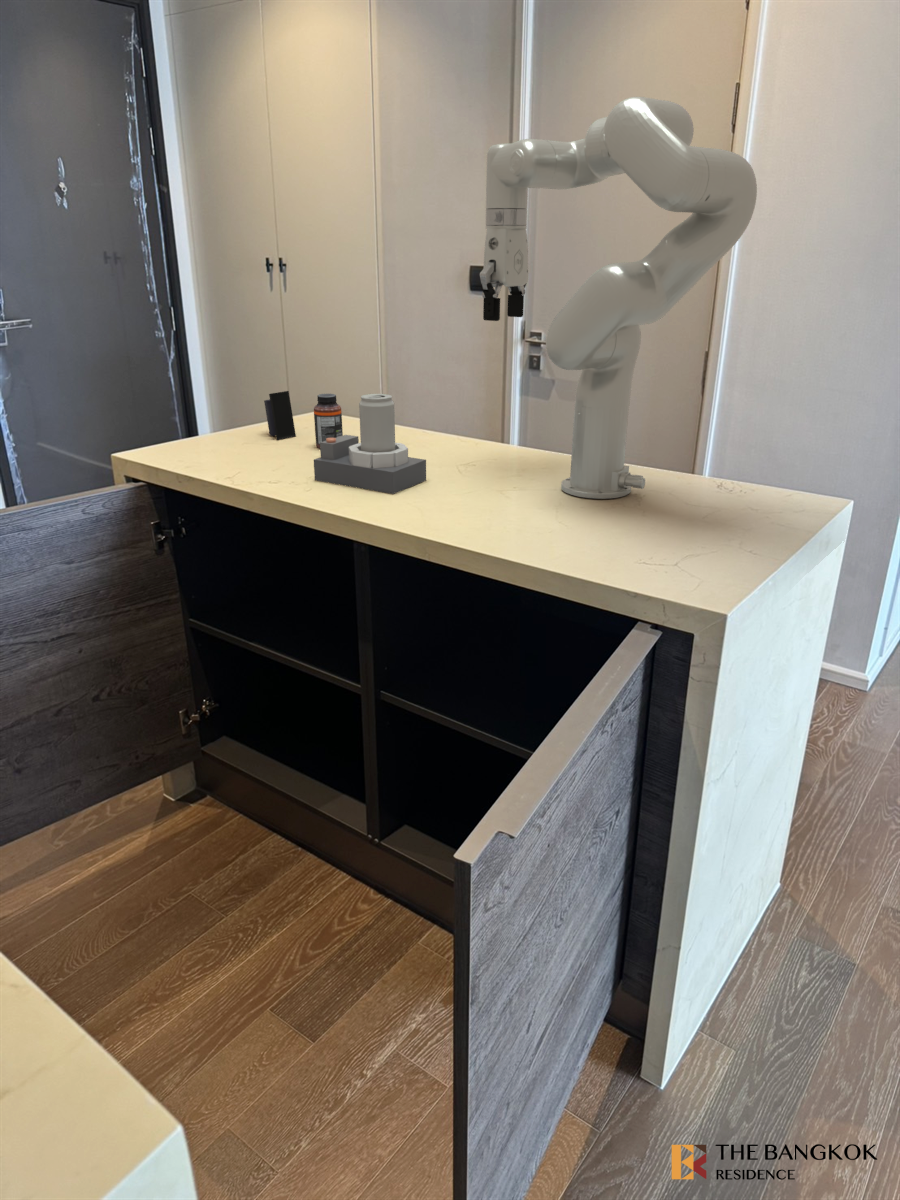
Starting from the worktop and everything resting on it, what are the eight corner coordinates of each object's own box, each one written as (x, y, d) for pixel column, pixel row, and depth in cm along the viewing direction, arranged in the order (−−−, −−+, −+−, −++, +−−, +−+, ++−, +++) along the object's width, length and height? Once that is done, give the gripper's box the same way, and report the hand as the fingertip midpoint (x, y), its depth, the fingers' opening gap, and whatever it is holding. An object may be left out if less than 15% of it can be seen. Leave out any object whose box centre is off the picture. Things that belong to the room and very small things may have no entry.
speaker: (301, 436, 197) (294, 390, 194) (277, 440, 195) (270, 393, 191) (290, 433, 204) (283, 389, 200) (267, 437, 201) (259, 392, 198)
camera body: (426, 480, 163) (425, 440, 160) (393, 494, 155) (392, 452, 152) (350, 468, 172) (348, 429, 169) (314, 480, 163) (312, 440, 160)
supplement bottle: (320, 443, 192) (317, 392, 187) (346, 444, 191) (344, 392, 187) (312, 449, 186) (309, 396, 182) (339, 450, 186) (336, 397, 181)
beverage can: (402, 459, 162) (401, 394, 157) (382, 466, 157) (380, 399, 152) (374, 455, 165) (372, 391, 160) (354, 462, 160) (351, 396, 155)
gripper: (502, 219, 149) (499, 323, 155) (544, 221, 162) (540, 316, 169) (464, 219, 152) (463, 321, 159) (509, 221, 166) (506, 314, 173)
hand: (503, 318), depth 164 cm, fingers open, 9 cm apart
